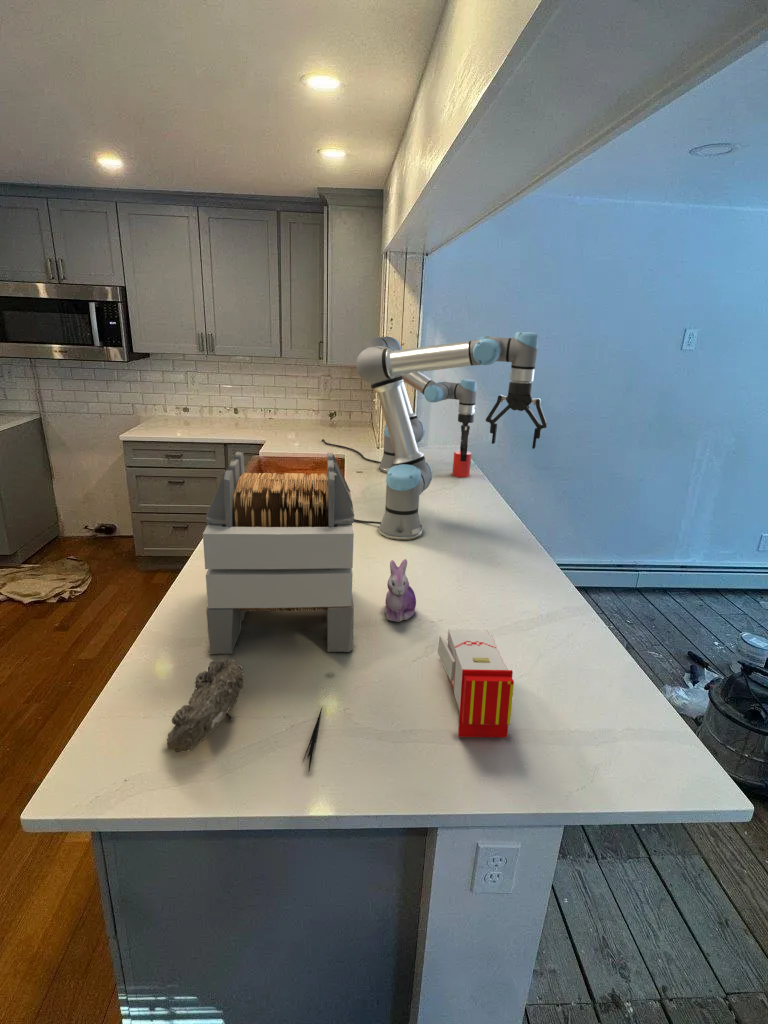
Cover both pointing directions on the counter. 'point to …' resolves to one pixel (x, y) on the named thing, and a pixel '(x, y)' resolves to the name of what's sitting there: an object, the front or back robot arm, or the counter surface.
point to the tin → (461, 465)
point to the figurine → (399, 594)
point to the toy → (478, 682)
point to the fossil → (206, 705)
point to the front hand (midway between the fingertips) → (513, 445)
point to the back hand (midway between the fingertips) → (462, 457)
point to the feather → (313, 740)
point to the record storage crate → (279, 550)
